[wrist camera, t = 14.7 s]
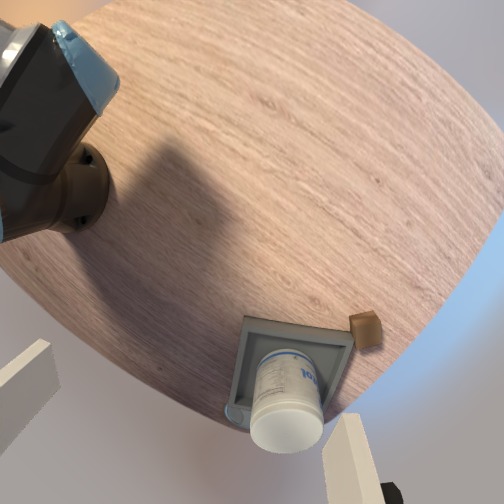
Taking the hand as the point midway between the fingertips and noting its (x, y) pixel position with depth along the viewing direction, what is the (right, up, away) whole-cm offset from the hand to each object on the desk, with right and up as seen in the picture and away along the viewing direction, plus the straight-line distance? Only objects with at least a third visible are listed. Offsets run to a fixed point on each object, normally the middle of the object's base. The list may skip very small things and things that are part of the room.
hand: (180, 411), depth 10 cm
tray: (+9, -13, +35) cm, 38 cm away
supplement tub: (+8, -13, +35) cm, 38 cm away
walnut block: (+20, -5, +33) cm, 39 cm away
